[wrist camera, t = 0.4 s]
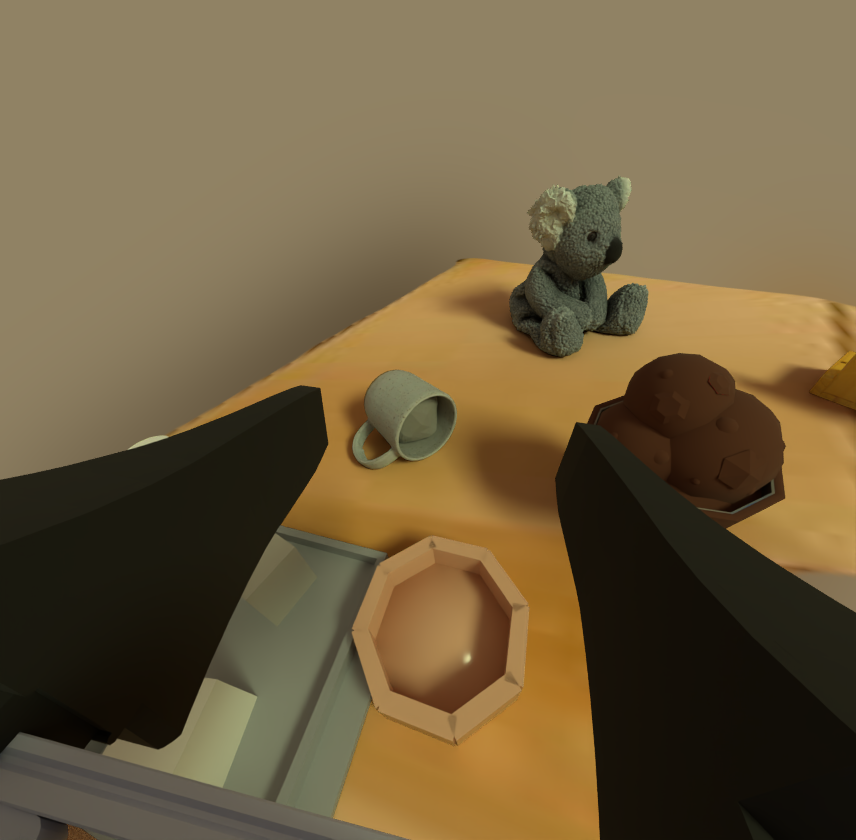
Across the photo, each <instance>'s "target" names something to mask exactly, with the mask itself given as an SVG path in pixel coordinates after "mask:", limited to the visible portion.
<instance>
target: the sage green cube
mask: <svg viewBox="0 0 856 840" xmlns="http://www.w3.org/2000/svg"><path fill="white" fill-rule="evenodd" d="M256 699H257V696H255V695H253V694H250V693H248V692H246V691H243V690H241V689H238V688H236V687H234V686H231V685H229V684H227V683H224V682H222V681H220V680H217V679H211V678H204V680H203V682H202V685H201V687H200V690H199V692H198V695H197V697H196V699H195V702H194V704H193V707H192V709H191V711H190V714H189V716H188V719H187V722H186V724H185V727H184V729H183V732H182V734H181V735H180V736H179V737H178V738H177V739H176V740H174V741H173V742H172V743H170V744H168V745H167V746H165V747H164V748H161V749H159V750H157V749H153V748H150V747H146V746H142V745H138V744H135V743H131V742H127V741H124V740H120V739H117V740H116V741H115V742H114V743H113V744H111V745H107V747H106V749H105V750H104V752H103V754H102V755H105V756H109V757H113V758H116V759H120V760H123V761H127V762H131V763H134V764H138V765H141V766H145V767H149V768H152V769H156V770H160V771H163V772H167V773H170V774H174V775H178V776H181V777H185V778H189V779H192V780H196V781H199V782H203V783H207V784H210V785H214V786H218V787H221V788H223V785H224V783H225V780H226V777H227V775H228V772H229V770H230V767H231V764H232V762H233V759H234V757H235V754H236V751H237V749H238V746H239V744H240V741H241V738H242V736H243V733H244V731H245V728H246V725H247V723H248V720H249V718H250V715H251V712H252V710H253V707H254V705H255V702H256Z"/></svg>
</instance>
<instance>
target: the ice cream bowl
mask: <svg viewBox="0 0 856 840" xmlns="http://www.w3.org/2000/svg"><path fill="white" fill-rule="evenodd" d="M587 424H593V425H600V426H601V427H603V428H604V429H605V430H606V431H608V432H609V433H610V434H611V435H613V436H614V437H615V438H616V439H617V440H618V441H619V442H621V443H622V444H623V445H624V446H625V447H626V448H627V449H628V450H630V451H631V452H632V453H633V454H634V455H635V456H636V457H637V458H638V459H640V460H641V461H642V462H643V463H644V464H645V465H646V466H648V467H649V468H650V469H651V470H652V471H653V472H654V473H656V474H657V475H658V476H659V477H660V478H661V479H663V480H664V481H665V482H666V483H667V484H669V485H670V486H671V487H672V488H673V489H675V490H676V491H677V492H678V493H679V494H681V495H682V496H683V497H684V498H686V499H687V500H688V501H690V502H691V503H692V504H693V505H695V506H696V507H697V508H698V509H700V510H701V511H702V512H703V513H705V514H706V515H707V516H709V517H710V518H711V519H713V520H714V521H715V522H717V523H718V524H720V525H721V526H722V527H724V528H725V529H726V528H728V527H730V526H732V525H734V524H736V523H738V522H740V521H742V520H744V519H746V518H748V517H750V516H752V515H754V514H756V513H758V512H760V511H762V510H764V509H766V508H768V507H770V506H771V505H773V504H775V503H777V502H779V501H781V500H783V499H785V492H784V484H783V475H782V465H783V463H784V458H783V451H784V449H785V447H786V446H785V443H784V441H783V440H782V433H781V426H780V422H779V420H778V419H777V418H776V416H775V415H774V414H773V412H772V411H771V410H770V409H769V408H768V407H766V406H765V405H764V404H763V403H762V402H760V401H759V400H758V399H757V398H756V397H754V396H753V395H751V394H748V393H745V392H742V391H740V390H737V389H735V380H734V379H733V377H732V376H731V375H730V373H729V372H728V371H727V369H725V368H723V367H721V366H719V365H718V364H716V363H714V362H712V361H710V360H708V359H707V358H705V357H703V356H701V355H696V354H683V353H678V354H673V355H668V356H662V357H658V358H657V359H655V360H653V361H651V362H650V363H648V364H646V365H645V366H643V367H642V368H640V369H639V370H638V371H636V372H635V373H634V375H633V377H632V378H631V380H630V382H629V385H628V387H627V390H626V393H625V395H624V396H621V397H619V398H616V399H613V400H610V401H607V402H605V403H602V404H599V405H596V406H595V407H594V409H593V411H592V414H591V416H590V418H589V421H588V423H587Z"/></svg>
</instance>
